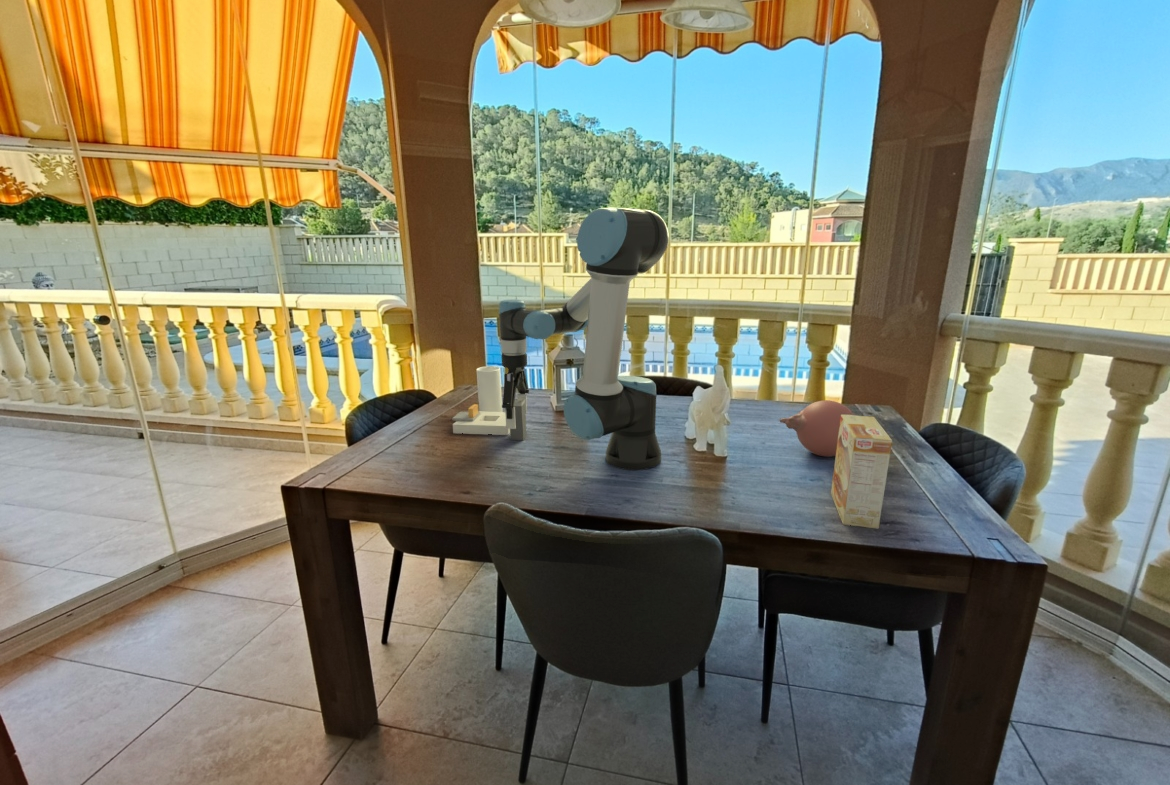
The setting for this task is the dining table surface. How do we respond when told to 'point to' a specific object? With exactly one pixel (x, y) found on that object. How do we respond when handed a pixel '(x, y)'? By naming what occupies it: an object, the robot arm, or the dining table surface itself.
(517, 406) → the plug
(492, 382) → the cup
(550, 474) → the dining table surface
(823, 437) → the pomegranate
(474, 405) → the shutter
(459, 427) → the socket plate
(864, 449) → the coffeecake box
